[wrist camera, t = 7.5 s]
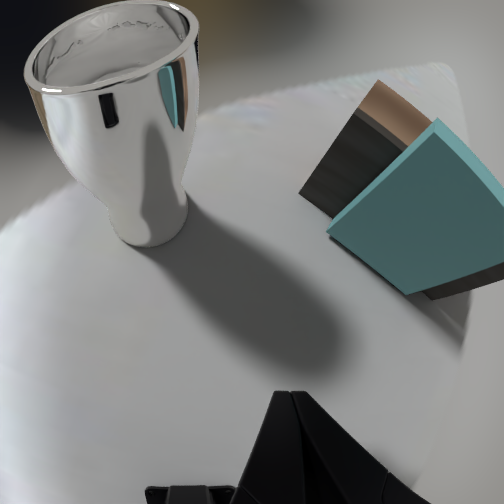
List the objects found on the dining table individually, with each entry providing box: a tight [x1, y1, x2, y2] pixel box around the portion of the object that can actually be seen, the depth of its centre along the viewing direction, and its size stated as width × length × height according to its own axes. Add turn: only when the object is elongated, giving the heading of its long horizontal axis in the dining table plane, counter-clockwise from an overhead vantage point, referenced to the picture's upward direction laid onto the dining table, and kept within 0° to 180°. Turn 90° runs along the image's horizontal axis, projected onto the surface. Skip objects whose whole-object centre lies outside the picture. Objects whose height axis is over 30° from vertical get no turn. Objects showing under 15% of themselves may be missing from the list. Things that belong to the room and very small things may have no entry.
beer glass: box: [24, 0, 199, 247], centre depth 14 cm, size 7×7×15 cm
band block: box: [299, 80, 504, 300], centre depth 20 cm, size 6×16×10 cm, turn 56°
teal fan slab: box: [326, 118, 504, 295], centre depth 18 cm, size 7×9×13 cm
